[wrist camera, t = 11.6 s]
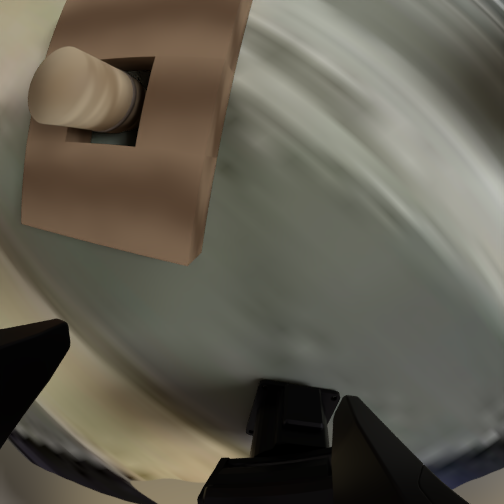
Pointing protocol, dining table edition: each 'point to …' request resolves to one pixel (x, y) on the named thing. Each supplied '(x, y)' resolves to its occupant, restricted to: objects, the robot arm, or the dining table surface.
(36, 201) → the board
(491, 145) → the dining table surface
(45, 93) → the peg
